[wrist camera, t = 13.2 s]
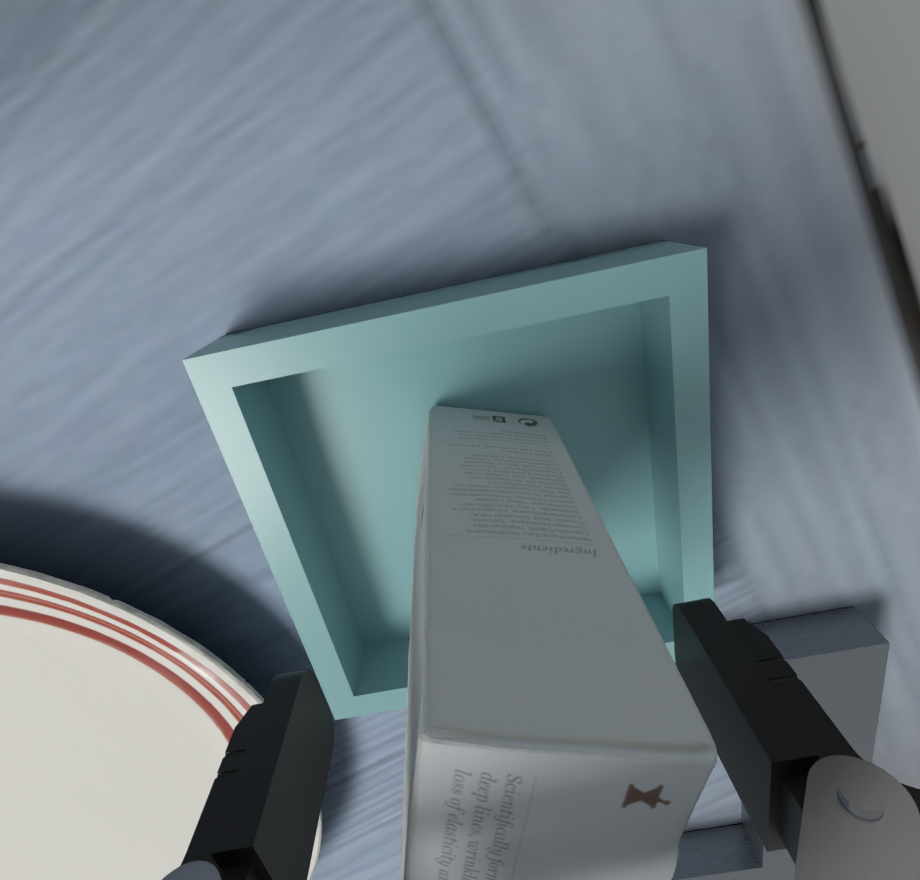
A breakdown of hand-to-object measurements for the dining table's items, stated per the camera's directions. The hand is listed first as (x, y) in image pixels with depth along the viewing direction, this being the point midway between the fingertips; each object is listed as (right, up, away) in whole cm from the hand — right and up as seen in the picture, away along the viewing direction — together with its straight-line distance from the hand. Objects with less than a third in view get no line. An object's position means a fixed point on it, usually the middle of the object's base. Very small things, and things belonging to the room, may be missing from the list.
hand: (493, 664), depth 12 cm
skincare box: (0, +3, +7) cm, 8 cm away
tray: (0, +3, +8) cm, 9 cm away
